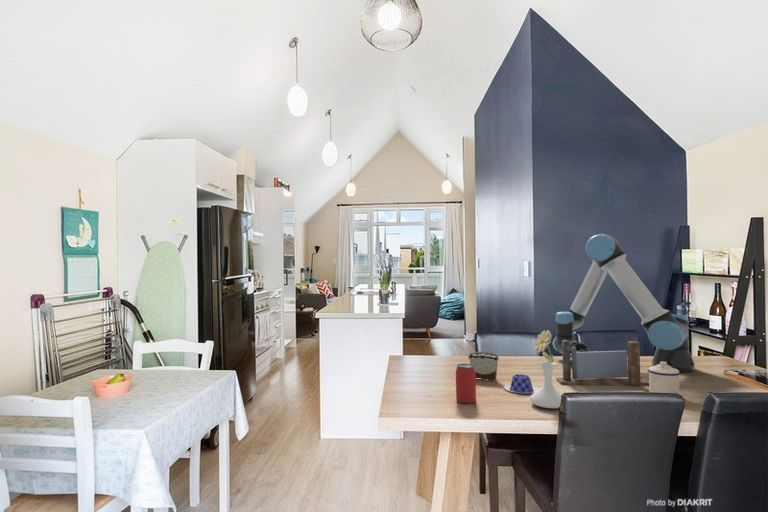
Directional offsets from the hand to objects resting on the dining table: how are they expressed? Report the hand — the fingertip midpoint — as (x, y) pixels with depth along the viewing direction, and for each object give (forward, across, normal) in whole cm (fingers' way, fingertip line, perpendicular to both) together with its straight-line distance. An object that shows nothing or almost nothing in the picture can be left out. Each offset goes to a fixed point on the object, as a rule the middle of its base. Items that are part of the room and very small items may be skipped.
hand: (606, 362), depth 164 cm
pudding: (+7, +37, -8) cm, 38 cm away
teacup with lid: (+19, -8, -7) cm, 21 cm away
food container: (-10, +45, -7) cm, 47 cm away
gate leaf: (+1, +3, -5) cm, 6 cm away
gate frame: (+2, +4, -7) cm, 8 cm away
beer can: (+17, +60, -7) cm, 63 cm away
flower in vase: (+25, +35, -7) cm, 44 cm away
